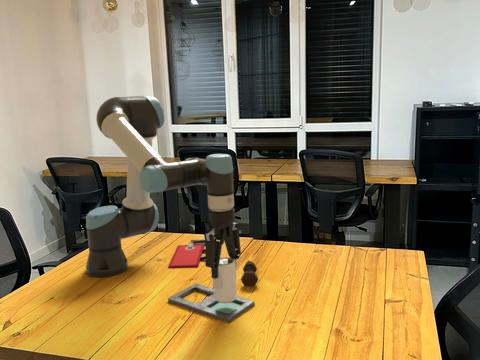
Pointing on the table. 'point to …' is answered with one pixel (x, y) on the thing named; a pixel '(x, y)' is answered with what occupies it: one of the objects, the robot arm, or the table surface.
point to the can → (227, 281)
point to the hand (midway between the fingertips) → (224, 283)
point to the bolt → (249, 275)
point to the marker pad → (226, 307)
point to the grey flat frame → (210, 303)
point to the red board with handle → (188, 255)
